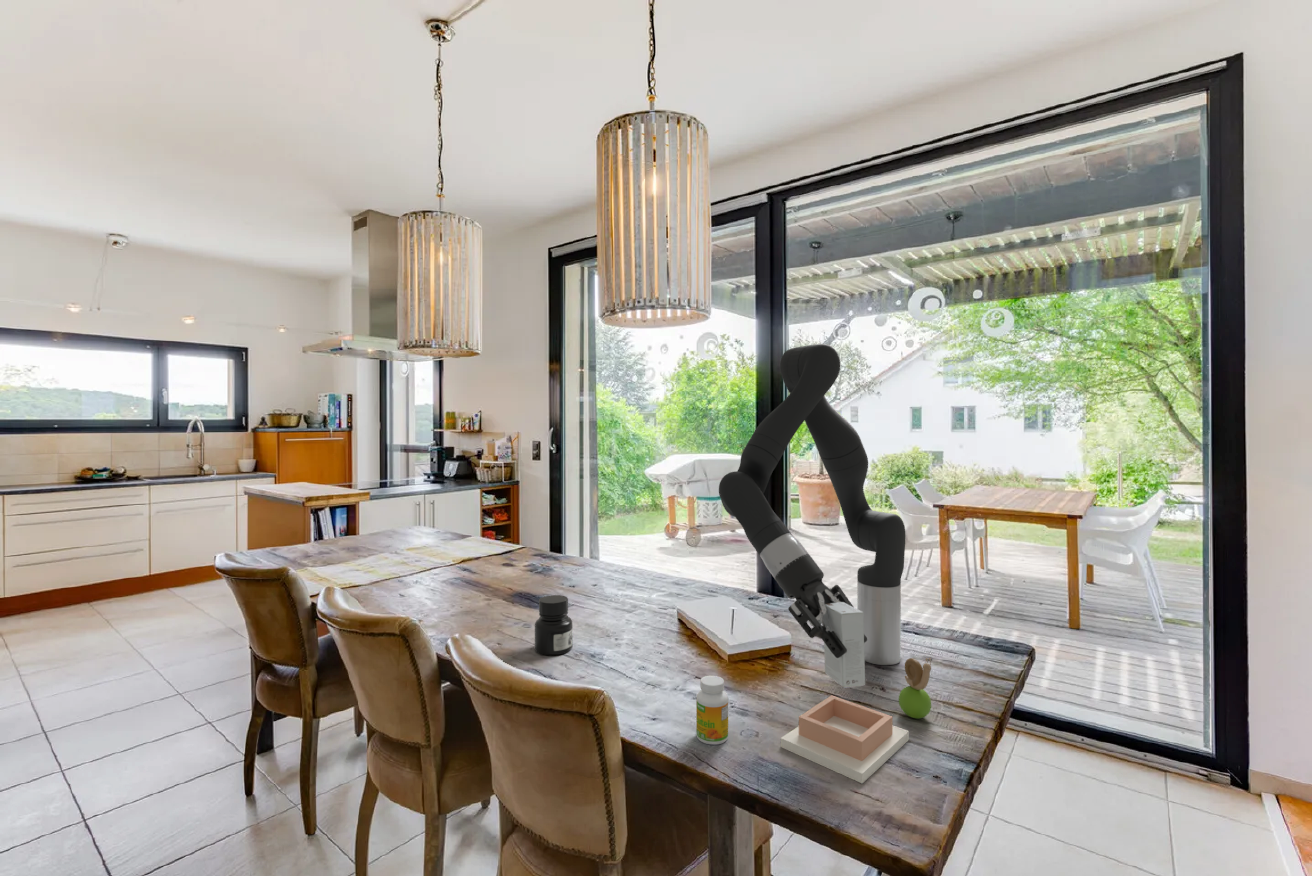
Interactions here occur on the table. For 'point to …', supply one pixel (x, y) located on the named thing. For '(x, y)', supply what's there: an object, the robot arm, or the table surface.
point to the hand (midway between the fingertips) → (852, 649)
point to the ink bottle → (553, 626)
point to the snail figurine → (916, 689)
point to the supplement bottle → (712, 711)
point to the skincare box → (846, 645)
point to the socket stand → (845, 738)
